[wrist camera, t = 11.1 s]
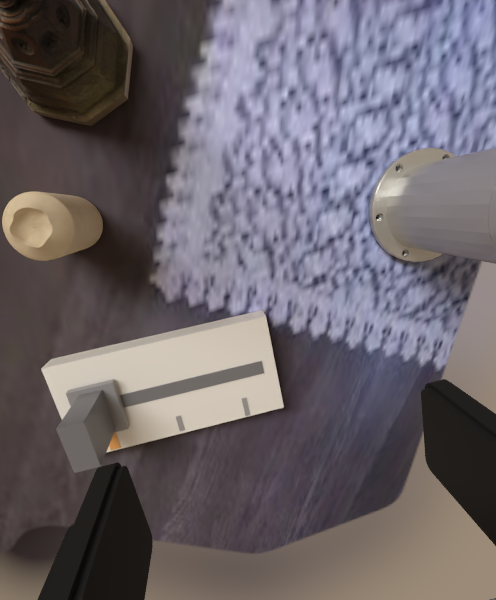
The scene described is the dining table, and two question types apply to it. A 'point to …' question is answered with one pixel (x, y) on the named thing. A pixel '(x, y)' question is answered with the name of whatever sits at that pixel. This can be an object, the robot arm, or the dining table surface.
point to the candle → (51, 224)
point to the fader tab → (91, 423)
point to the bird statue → (66, 57)
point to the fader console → (179, 377)
